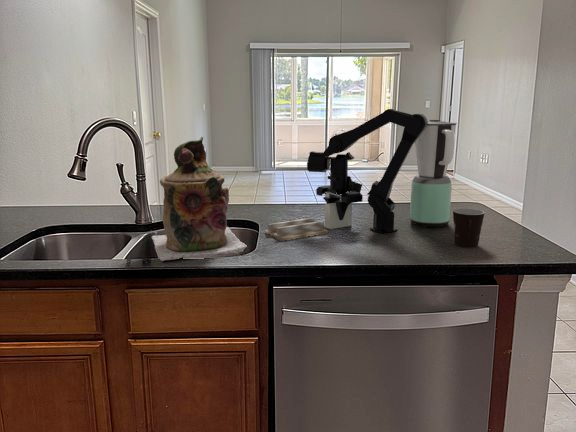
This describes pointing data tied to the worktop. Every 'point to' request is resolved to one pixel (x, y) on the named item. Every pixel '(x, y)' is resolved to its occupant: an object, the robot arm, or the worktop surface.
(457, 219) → the dark brown cup
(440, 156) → the mint green blender
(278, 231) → the track base
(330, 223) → the door panel
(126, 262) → the worktop surface
